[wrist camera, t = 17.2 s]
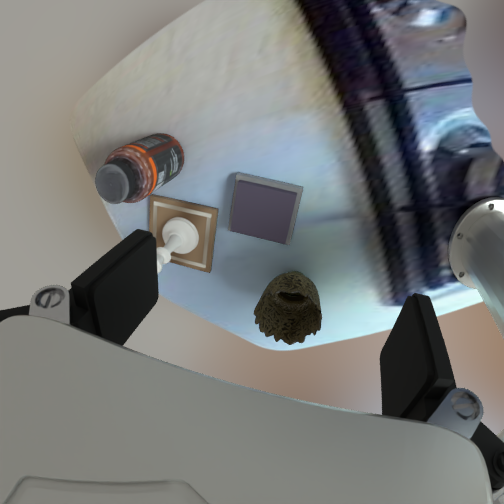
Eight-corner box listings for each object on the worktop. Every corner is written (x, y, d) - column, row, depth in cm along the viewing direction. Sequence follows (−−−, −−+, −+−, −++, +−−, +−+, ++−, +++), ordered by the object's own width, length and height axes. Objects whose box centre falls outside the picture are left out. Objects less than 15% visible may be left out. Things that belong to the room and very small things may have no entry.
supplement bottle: (137, 140, 37) (79, 163, 27) (177, 126, 35) (124, 143, 25) (151, 184, 39) (99, 219, 29) (192, 173, 37) (146, 206, 28)
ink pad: (303, 187, 35) (302, 192, 34) (290, 241, 39) (288, 249, 37) (238, 172, 36) (233, 176, 34) (230, 226, 40) (225, 233, 38)
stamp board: (218, 208, 39) (216, 210, 38) (211, 270, 43) (209, 273, 43) (152, 194, 40) (149, 196, 39) (151, 254, 44) (148, 256, 44)
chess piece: (180, 209, 39) (141, 246, 31) (206, 239, 40) (174, 282, 32) (157, 231, 42) (117, 269, 33) (182, 258, 43) (148, 302, 34)
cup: (289, 312, 44) (281, 353, 37) (254, 274, 42) (240, 312, 35) (334, 287, 41) (334, 327, 34) (300, 244, 39) (294, 280, 32)
